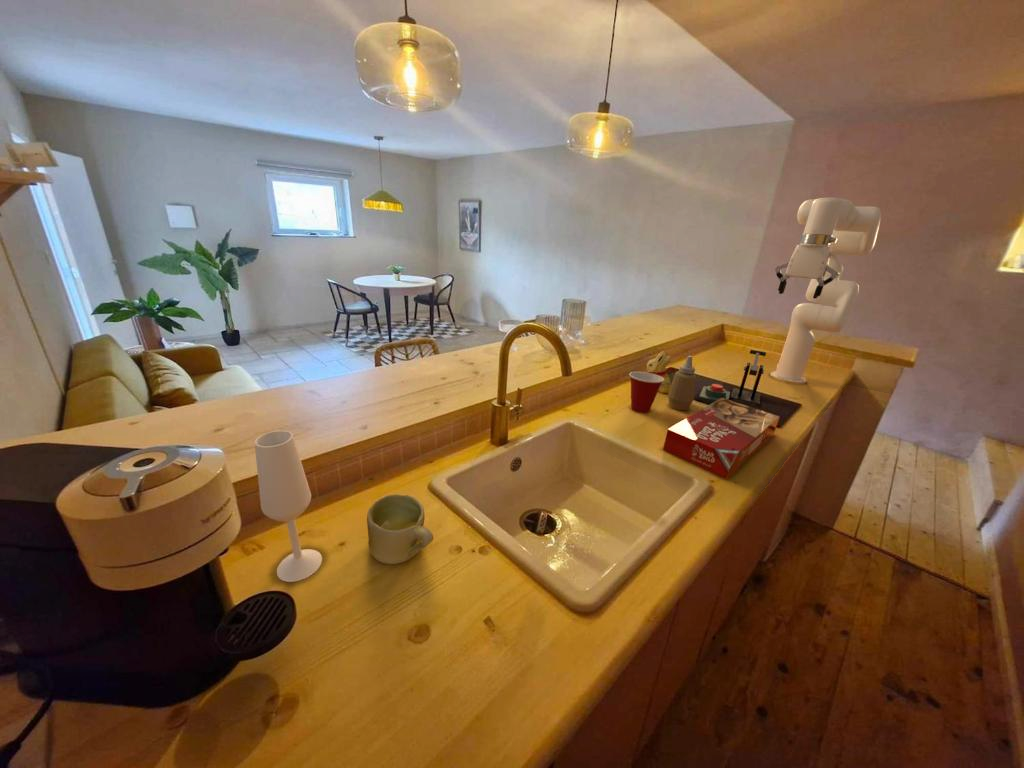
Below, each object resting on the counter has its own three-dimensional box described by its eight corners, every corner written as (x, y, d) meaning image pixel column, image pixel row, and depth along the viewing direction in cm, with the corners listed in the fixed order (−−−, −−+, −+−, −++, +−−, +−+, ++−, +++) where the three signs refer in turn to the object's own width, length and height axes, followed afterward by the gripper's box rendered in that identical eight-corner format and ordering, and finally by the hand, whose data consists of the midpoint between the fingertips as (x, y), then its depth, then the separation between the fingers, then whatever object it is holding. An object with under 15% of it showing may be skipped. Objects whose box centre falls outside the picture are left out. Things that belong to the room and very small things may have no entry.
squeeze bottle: (693, 413, 127) (706, 361, 120) (667, 410, 129) (679, 358, 122) (688, 403, 135) (700, 354, 128) (663, 400, 136) (674, 351, 129)
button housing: (702, 391, 146) (704, 381, 145) (729, 397, 142) (731, 387, 140) (697, 401, 137) (700, 391, 135) (726, 408, 132) (729, 398, 131)
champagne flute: (315, 543, 69) (293, 422, 60) (327, 567, 64) (306, 441, 55) (272, 562, 65) (241, 435, 56) (282, 589, 60) (251, 456, 51)
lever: (749, 352, 146) (751, 347, 144) (765, 355, 143) (766, 350, 142) (744, 373, 139) (745, 368, 137) (760, 376, 136) (762, 371, 135)
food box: (716, 415, 127) (721, 397, 125) (773, 435, 116) (779, 416, 113) (663, 449, 105) (667, 429, 103) (726, 478, 94) (733, 456, 91)
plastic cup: (659, 406, 131) (666, 373, 126) (655, 419, 122) (663, 384, 117) (626, 399, 135) (632, 367, 130) (620, 411, 126) (626, 377, 121)
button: (711, 387, 140) (712, 383, 139) (722, 390, 138) (723, 385, 138) (710, 390, 137) (711, 386, 137) (721, 393, 136) (722, 388, 135)
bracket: (732, 390, 148) (741, 358, 143) (759, 396, 144) (770, 364, 139) (730, 400, 139) (739, 366, 135) (758, 407, 135) (770, 372, 130)
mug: (345, 540, 67) (363, 493, 65) (395, 525, 75) (412, 483, 73) (381, 594, 60) (402, 545, 58) (431, 572, 69) (452, 527, 66)
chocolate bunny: (647, 382, 151) (654, 345, 146) (672, 392, 143) (681, 353, 138) (636, 386, 147) (643, 348, 142) (662, 396, 139) (671, 356, 134)
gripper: (851, 243, 119) (831, 299, 126) (786, 239, 131) (771, 291, 137) (848, 242, 115) (827, 301, 121) (780, 239, 126) (765, 292, 132)
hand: (797, 295), depth 129 cm, fingers open, 9 cm apart
